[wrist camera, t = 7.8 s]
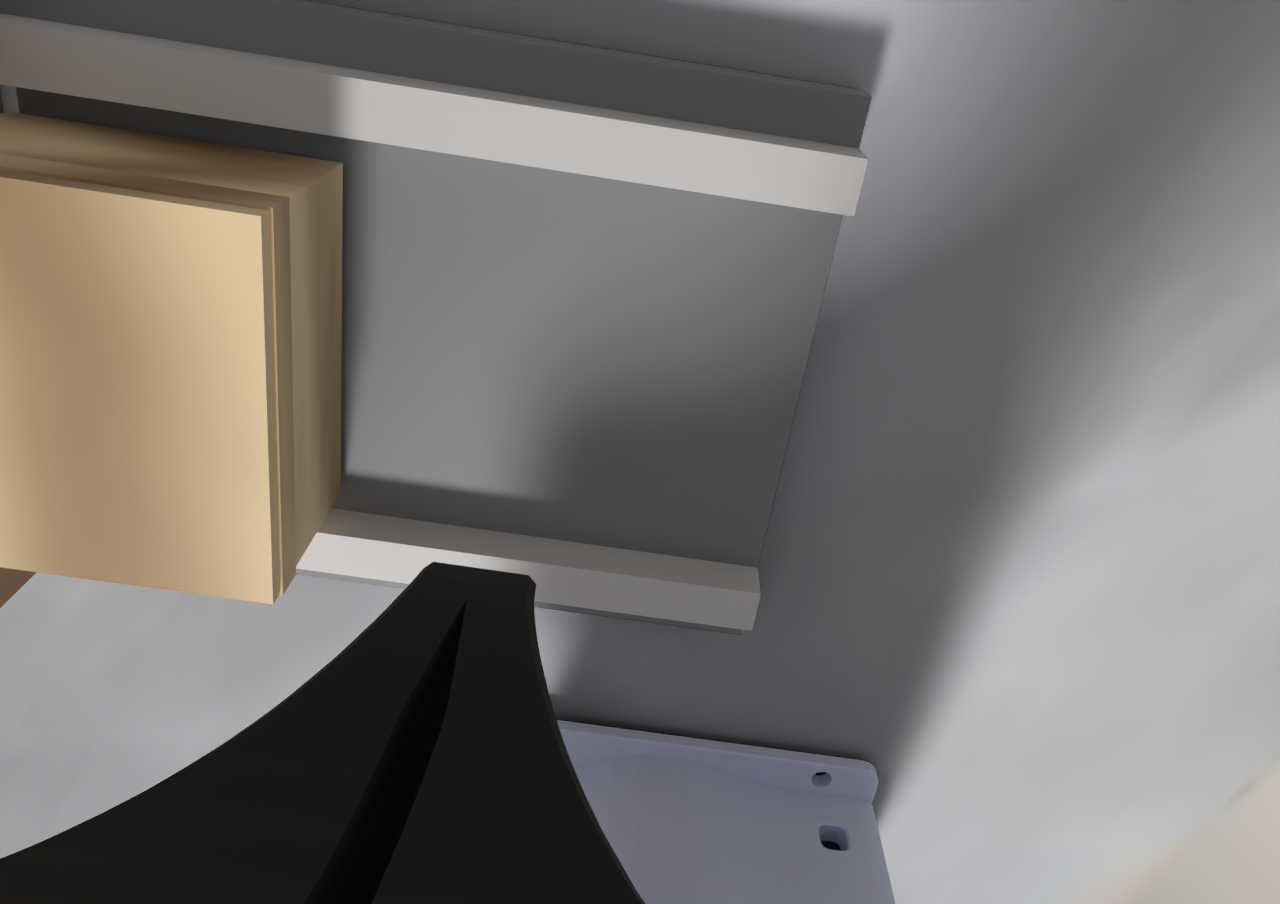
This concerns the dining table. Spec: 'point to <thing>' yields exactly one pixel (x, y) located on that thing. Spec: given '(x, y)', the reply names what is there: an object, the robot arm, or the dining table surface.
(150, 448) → the crate
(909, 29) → the dining table surface
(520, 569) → the bay
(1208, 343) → the dining table surface
